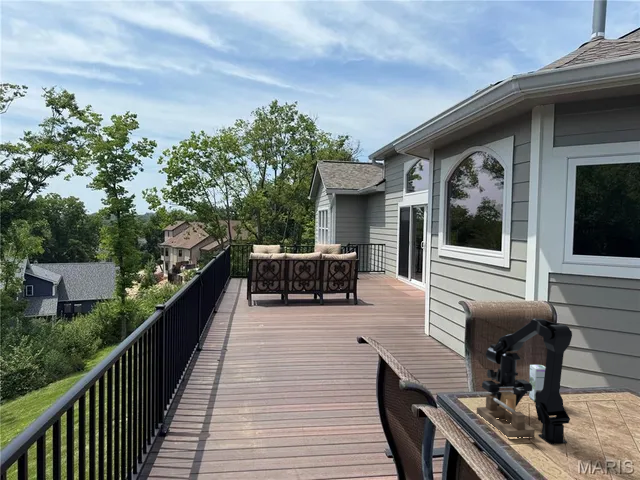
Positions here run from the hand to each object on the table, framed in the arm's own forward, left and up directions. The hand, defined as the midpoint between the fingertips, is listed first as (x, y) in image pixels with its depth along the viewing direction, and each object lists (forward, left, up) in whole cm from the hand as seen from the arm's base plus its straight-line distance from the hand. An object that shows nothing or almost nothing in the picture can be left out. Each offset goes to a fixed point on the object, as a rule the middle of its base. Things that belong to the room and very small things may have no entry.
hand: (506, 407), depth 170 cm
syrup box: (+10, -22, -2) cm, 24 cm away
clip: (0, 0, -2) cm, 2 cm away
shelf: (-11, +8, -2) cm, 14 cm away
